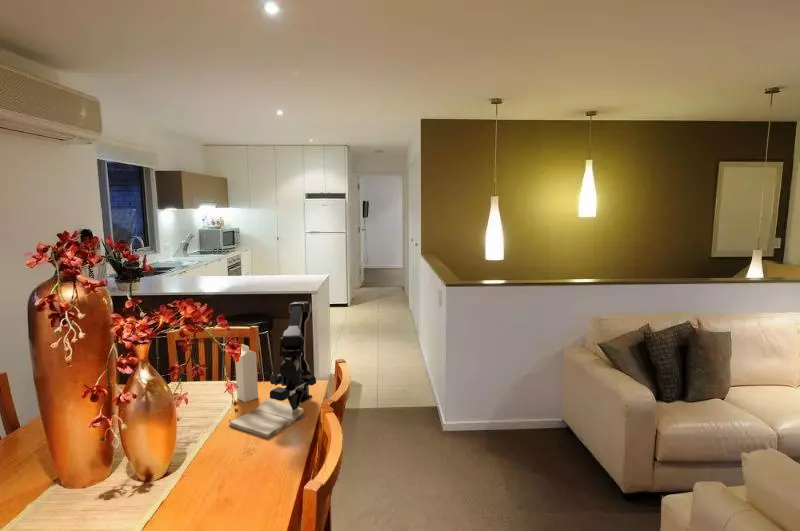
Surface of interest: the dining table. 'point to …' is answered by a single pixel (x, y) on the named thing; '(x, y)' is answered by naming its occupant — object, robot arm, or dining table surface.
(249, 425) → the laid planks
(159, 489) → the dining table surface
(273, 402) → the loose plank
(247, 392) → the milk
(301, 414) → the underlay mat
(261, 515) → the dining table surface
